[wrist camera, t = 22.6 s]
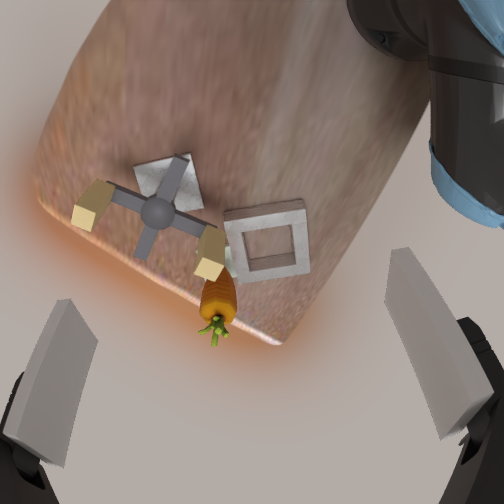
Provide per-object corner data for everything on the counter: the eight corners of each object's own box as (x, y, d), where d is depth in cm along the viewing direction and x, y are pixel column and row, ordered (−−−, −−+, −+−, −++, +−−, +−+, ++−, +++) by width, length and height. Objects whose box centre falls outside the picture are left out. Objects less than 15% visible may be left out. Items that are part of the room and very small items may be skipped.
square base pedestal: (190, 152, 40) (183, 171, 35) (204, 205, 45) (199, 231, 39) (134, 165, 41) (118, 186, 35) (151, 215, 45) (140, 242, 40)
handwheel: (85, 230, 38) (63, 265, 32) (116, 128, 31) (89, 149, 25) (198, 276, 43) (193, 316, 37) (249, 186, 36) (252, 219, 30)
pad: (234, 242, 49) (234, 245, 48) (242, 273, 52) (242, 276, 52) (196, 249, 49) (195, 251, 49) (205, 279, 53) (205, 281, 52)
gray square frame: (301, 199, 45) (305, 208, 43) (306, 260, 51) (310, 272, 49) (224, 211, 46) (223, 222, 43) (238, 271, 52) (238, 284, 49)
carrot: (222, 281, 52) (220, 357, 40) (197, 265, 50) (188, 341, 38) (242, 262, 50) (246, 338, 38) (217, 245, 48) (213, 320, 36)
